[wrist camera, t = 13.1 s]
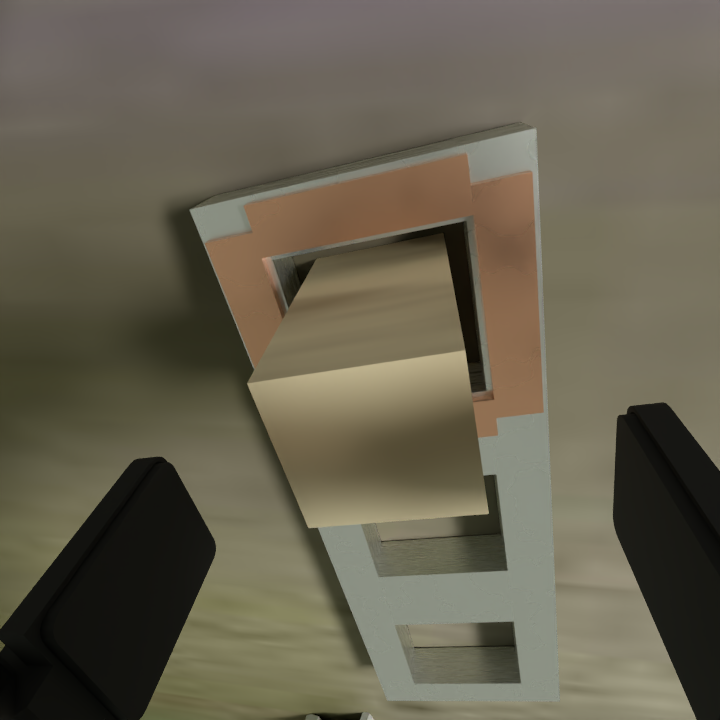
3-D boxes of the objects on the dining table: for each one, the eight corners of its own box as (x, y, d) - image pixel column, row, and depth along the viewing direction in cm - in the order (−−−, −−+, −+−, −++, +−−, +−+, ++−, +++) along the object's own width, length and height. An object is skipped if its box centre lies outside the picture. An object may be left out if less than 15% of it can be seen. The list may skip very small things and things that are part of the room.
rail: (551, 663, 28) (561, 707, 26) (389, 665, 30) (387, 706, 28) (521, 121, 14) (538, 128, 12) (214, 195, 16) (185, 212, 14)
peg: (460, 347, 18) (489, 513, 11) (347, 364, 19) (308, 528, 12) (443, 232, 16) (465, 349, 9) (316, 258, 17) (247, 383, 10)
